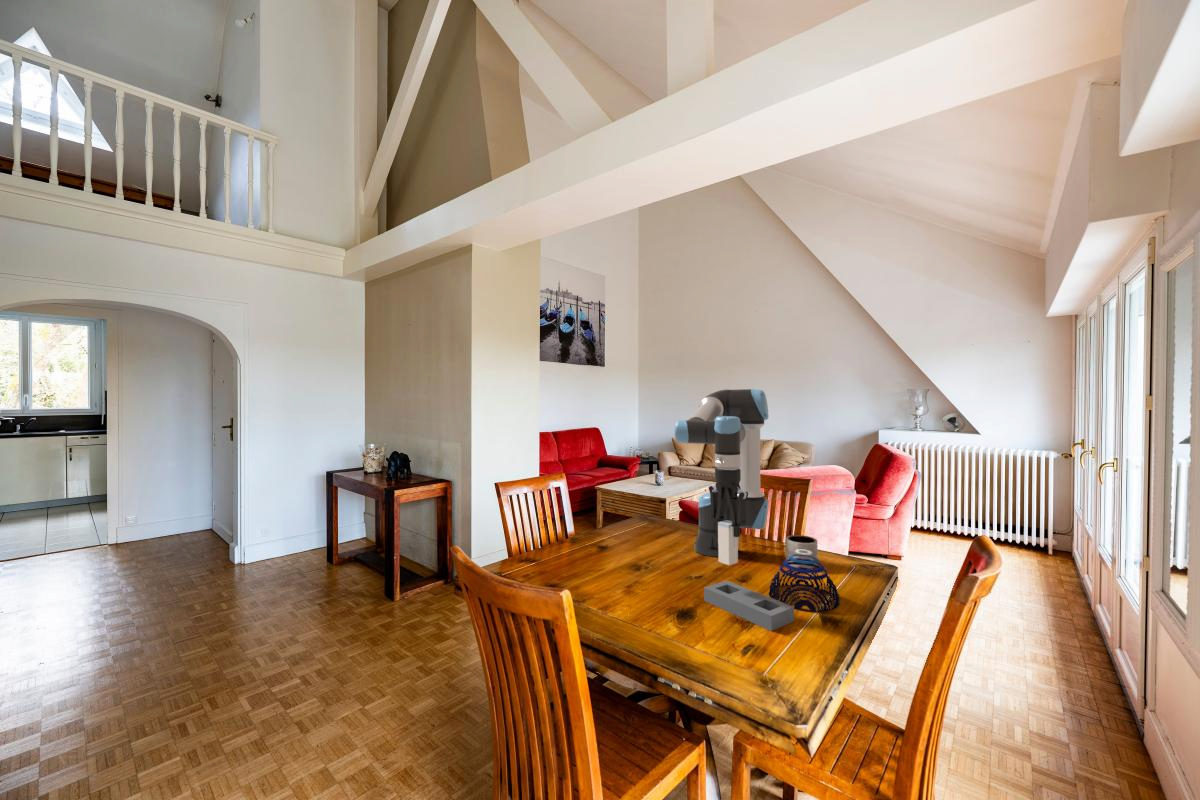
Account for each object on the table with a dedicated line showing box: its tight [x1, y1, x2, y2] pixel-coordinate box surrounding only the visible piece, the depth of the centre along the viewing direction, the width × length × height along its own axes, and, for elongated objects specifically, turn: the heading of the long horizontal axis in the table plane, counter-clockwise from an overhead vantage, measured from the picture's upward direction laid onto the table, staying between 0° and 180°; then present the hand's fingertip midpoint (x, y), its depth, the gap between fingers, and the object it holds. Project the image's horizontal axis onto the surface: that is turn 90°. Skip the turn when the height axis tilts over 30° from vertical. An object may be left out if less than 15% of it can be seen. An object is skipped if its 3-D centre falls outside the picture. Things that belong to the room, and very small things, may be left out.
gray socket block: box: [703, 580, 795, 632], centre depth 144 cm, size 10×24×4 cm, turn 35°
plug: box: [717, 520, 739, 566], centre depth 150 cm, size 4×4×12 cm
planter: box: [785, 534, 819, 570], centre depth 183 cm, size 11×11×10 cm
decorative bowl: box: [768, 549, 841, 613], centre depth 153 cm, size 20×20×14 cm
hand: (728, 544), depth 150 cm, fingers closed on plug, 4 cm apart
